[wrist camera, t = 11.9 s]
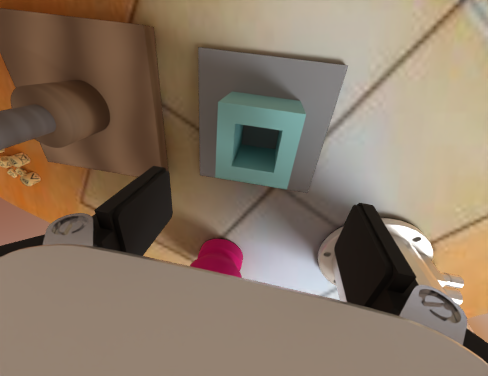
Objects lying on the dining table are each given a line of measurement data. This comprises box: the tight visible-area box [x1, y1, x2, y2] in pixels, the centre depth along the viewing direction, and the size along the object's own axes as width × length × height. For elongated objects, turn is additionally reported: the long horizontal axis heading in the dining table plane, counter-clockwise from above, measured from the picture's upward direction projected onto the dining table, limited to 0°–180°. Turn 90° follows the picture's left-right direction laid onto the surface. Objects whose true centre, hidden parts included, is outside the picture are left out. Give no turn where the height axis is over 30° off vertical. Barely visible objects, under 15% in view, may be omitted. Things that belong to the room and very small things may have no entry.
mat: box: [198, 47, 348, 193], centre depth 20 cm, size 12×12×1 cm
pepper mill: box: [190, 239, 243, 278], centre depth 23 cm, size 7×7×20 cm
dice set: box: [0, 149, 41, 186], centre depth 27 cm, size 5×5×2 cm
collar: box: [215, 91, 306, 189], centre depth 18 cm, size 6×6×5 cm
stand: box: [0, 8, 168, 177], centre depth 17 cm, size 14×14×11 cm
